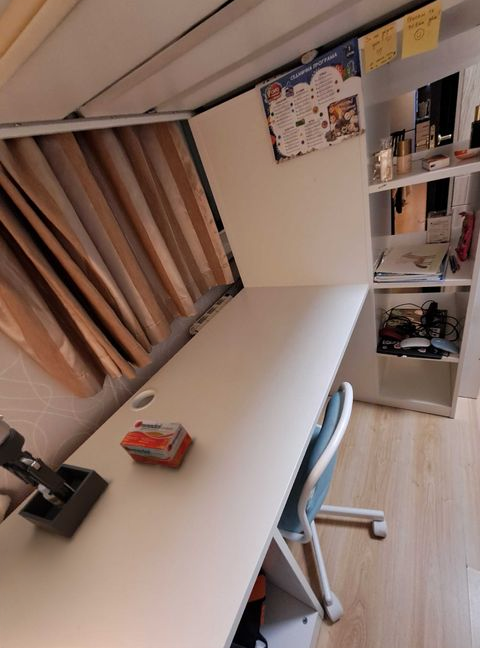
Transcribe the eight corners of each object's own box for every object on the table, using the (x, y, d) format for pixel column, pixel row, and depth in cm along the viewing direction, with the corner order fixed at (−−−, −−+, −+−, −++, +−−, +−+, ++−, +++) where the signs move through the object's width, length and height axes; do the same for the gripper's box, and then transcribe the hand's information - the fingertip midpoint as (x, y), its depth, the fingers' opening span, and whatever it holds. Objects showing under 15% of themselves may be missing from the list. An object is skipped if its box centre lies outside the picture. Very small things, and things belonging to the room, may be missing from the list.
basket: (36, 525, 70) (17, 513, 67) (76, 475, 80) (61, 462, 76) (70, 538, 65) (51, 526, 62) (108, 483, 75) (94, 469, 71)
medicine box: (193, 440, 79) (181, 421, 74) (179, 468, 72) (164, 450, 68) (150, 436, 84) (136, 418, 80) (133, 462, 78) (117, 444, 74)
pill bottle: (58, 512, 68) (36, 496, 64) (56, 500, 71) (34, 484, 67) (77, 497, 70) (56, 481, 66) (73, 486, 73) (53, 469, 69)
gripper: (35, 430, 58) (101, 489, 70) (-13, 422, 64) (56, 477, 77) (-2, 465, 52) (78, 522, 65) (-49, 453, 59) (31, 507, 72)
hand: (66, 498), depth 71 cm, fingers closed on pill bottle, 4 cm apart
